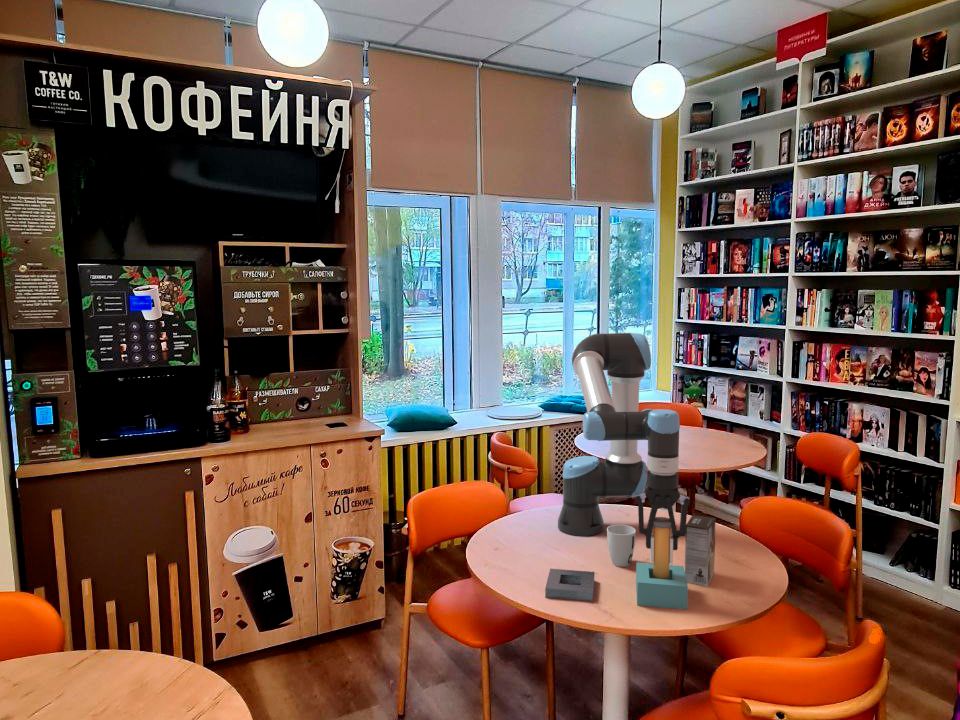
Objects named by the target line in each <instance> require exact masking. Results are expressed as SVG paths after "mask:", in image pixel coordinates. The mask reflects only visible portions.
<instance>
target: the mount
mask: <svg viewBox="0 0 960 720" xmlns="http://www.w3.org/2000/svg"><path fill="white" fill-rule="evenodd" d="M545 584H546V585H545V598H548V599H558V600H559V599H562V600H569V601H570V600H571V601H585V602H594V600H593V599H594V591H595V590H594V589H595V571H586V570H576V569H575V570H574V569H572V570H571V569H562V568H561V569H559V568H550V569H549V572H548V575H547V579H546V583H545Z"/></svg>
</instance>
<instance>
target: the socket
mask: <svg viewBox="0 0 960 720" xmlns="http://www.w3.org/2000/svg"><path fill="white" fill-rule="evenodd" d="M635 564H636V566H635V567H636V568H635V569H636V571H635V574H636V575H635V586H636V587H635V588H636V589H635V591H636V606H641V607H650V608H651V607H652V608H665V609H676V610H688V595H689V594H688V592H689V589H688V588H689V586H688V585H689V584H688V582H687V581H686V576H685V566H684V565H674V564H669V580H667V579H654V578H653V563H646V562H645V563H644V562H636V563H635Z"/></svg>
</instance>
